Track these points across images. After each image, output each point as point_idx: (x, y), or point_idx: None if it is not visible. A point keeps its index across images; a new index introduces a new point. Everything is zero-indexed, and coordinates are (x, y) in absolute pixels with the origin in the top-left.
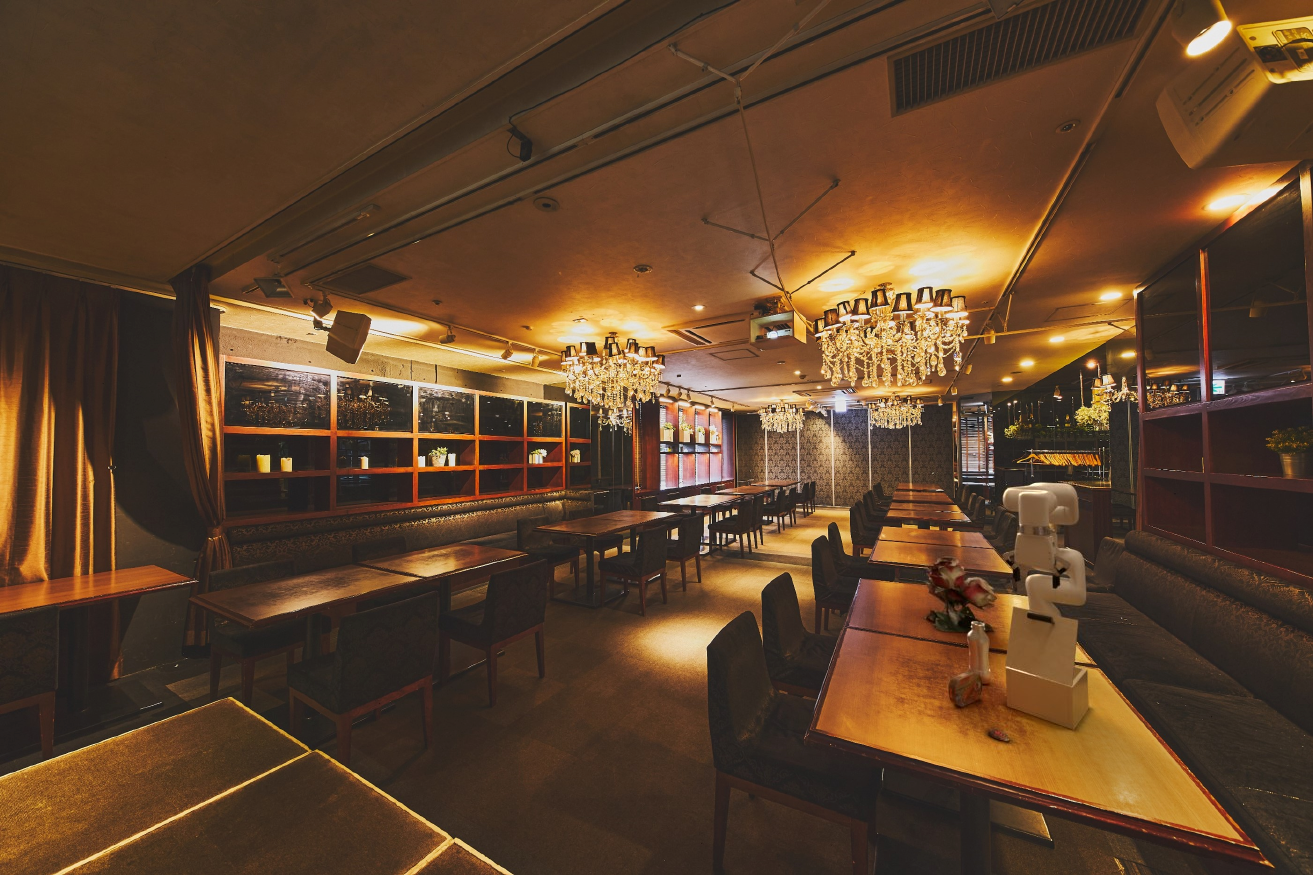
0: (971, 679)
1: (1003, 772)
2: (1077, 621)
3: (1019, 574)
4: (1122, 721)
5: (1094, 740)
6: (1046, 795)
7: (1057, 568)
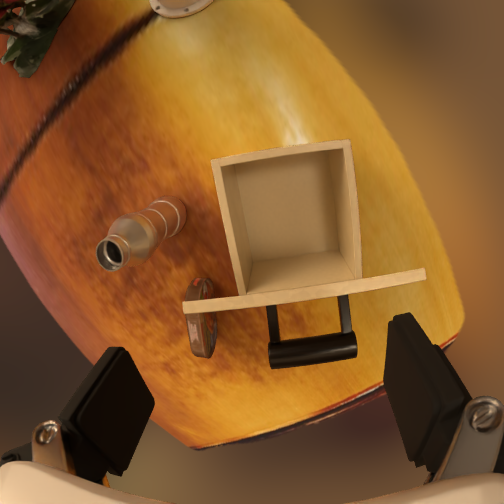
0: (201, 316)
1: (319, 402)
2: (423, 279)
3: (112, 400)
4: (377, 147)
5: (370, 258)
6: (355, 399)
7: (492, 466)
